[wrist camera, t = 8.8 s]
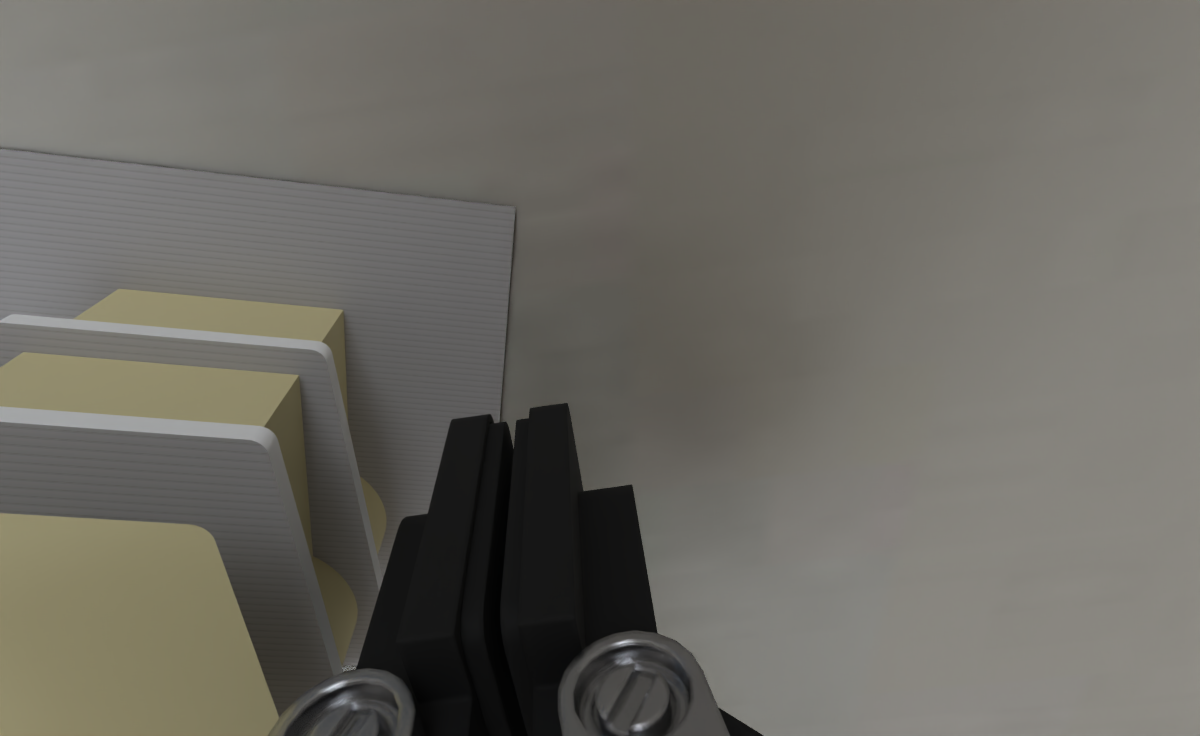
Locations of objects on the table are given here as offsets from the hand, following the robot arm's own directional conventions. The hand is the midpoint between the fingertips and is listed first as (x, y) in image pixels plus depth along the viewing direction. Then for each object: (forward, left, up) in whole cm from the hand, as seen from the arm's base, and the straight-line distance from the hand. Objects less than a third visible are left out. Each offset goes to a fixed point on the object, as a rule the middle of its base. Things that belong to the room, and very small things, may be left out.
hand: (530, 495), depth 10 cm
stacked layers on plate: (0, -5, -2) cm, 6 cm away
